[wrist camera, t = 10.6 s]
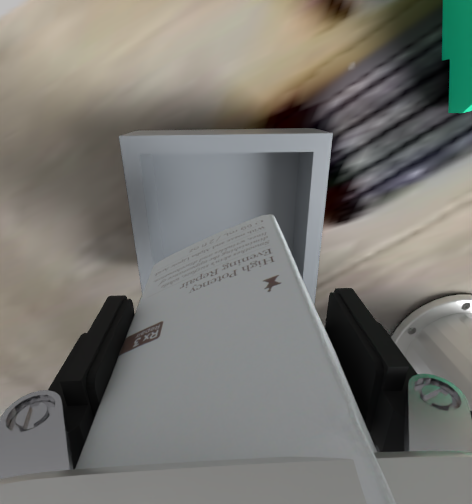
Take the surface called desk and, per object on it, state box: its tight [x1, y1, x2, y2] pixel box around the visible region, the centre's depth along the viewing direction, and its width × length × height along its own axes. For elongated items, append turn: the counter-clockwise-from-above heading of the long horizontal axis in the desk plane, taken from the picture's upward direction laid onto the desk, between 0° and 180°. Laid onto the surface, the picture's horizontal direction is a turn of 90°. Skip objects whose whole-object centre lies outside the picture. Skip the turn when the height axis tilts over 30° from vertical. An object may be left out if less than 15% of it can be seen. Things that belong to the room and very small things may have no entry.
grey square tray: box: [119, 128, 333, 304], centre depth 24 cm, size 12×12×8 cm
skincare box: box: [75, 214, 396, 504], centre depth 10 cm, size 6×4×12 cm
